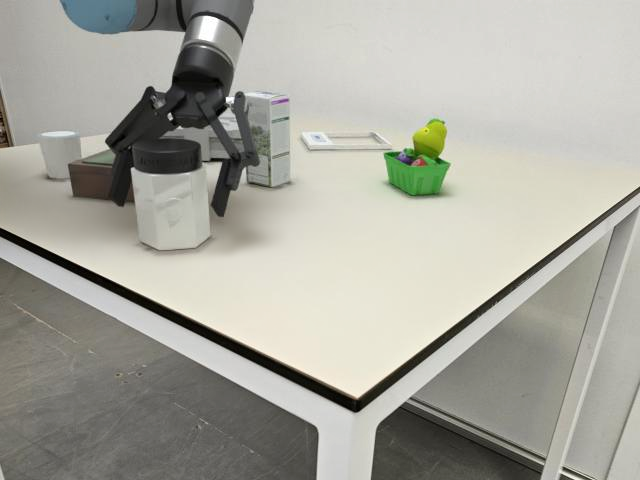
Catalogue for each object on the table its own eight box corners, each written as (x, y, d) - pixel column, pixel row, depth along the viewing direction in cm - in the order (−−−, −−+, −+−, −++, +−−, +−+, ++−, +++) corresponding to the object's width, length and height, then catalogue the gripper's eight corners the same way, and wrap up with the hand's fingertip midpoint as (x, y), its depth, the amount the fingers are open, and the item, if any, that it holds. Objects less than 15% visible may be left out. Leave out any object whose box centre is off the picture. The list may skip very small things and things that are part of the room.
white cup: (79, 168, 110) (73, 128, 106) (91, 176, 105) (85, 134, 102) (39, 172, 106) (31, 131, 103) (50, 181, 101) (42, 138, 98)
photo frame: (300, 131, 140) (375, 130, 143) (300, 136, 141) (375, 135, 144) (309, 144, 127) (392, 143, 130) (309, 149, 128) (391, 148, 131)
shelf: (73, 195, 94) (67, 162, 92) (121, 175, 106) (116, 144, 104) (154, 204, 91) (150, 170, 89) (194, 181, 103) (192, 151, 101)
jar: (140, 253, 73) (127, 153, 68) (139, 231, 80) (127, 139, 75) (214, 247, 76) (208, 150, 70) (207, 227, 83) (201, 137, 77)
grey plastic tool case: (141, 140, 133) (137, 103, 129) (268, 144, 133) (267, 107, 129) (112, 160, 116) (106, 118, 112) (257, 164, 116) (256, 122, 112)
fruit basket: (379, 181, 107) (383, 114, 101) (423, 178, 109) (430, 113, 104) (407, 198, 97) (414, 126, 92) (455, 195, 100) (464, 124, 95)
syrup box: (291, 181, 105) (291, 93, 98) (271, 188, 101) (269, 96, 94) (266, 176, 108) (264, 89, 101) (244, 182, 103) (241, 93, 97)
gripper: (302, 88, 81) (269, 230, 75) (134, 79, 86) (91, 211, 80) (291, 46, 74) (253, 200, 68) (108, 39, 79) (58, 181, 73)
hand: (165, 206), depth 74 cm, fingers open, 13 cm apart
